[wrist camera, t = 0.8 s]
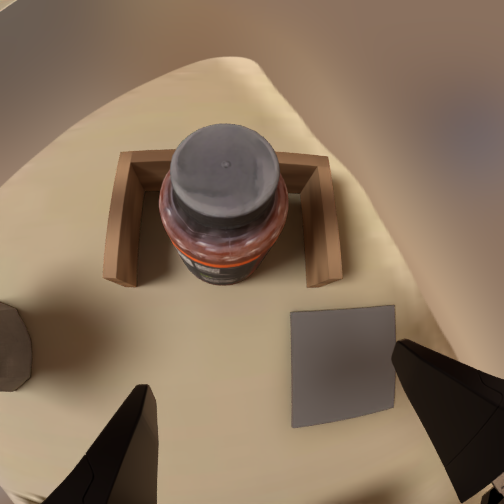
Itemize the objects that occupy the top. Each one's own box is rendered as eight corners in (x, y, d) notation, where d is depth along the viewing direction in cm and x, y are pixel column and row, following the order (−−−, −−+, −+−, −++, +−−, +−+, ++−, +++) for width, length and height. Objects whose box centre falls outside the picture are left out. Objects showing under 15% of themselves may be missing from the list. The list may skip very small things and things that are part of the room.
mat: (391, 406, 22) (393, 407, 21) (291, 426, 20) (292, 428, 20) (391, 305, 24) (394, 305, 23) (290, 312, 23) (291, 312, 22)
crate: (318, 287, 23) (342, 278, 19) (125, 286, 21) (102, 277, 17) (309, 184, 26) (328, 156, 21) (135, 181, 24) (120, 152, 19)
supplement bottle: (249, 199, 25) (278, 95, 12) (273, 274, 23) (334, 221, 11) (172, 218, 23) (136, 121, 11) (192, 296, 22) (160, 267, 10)
